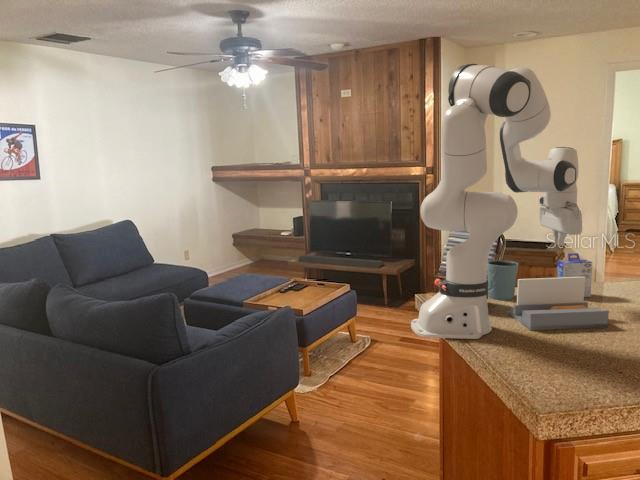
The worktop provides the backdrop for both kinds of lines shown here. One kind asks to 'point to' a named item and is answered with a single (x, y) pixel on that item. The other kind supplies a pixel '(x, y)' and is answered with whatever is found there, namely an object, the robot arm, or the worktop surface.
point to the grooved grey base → (559, 316)
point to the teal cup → (502, 279)
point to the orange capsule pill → (568, 307)
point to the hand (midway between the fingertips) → (558, 244)
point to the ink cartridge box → (576, 270)
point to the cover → (550, 290)
